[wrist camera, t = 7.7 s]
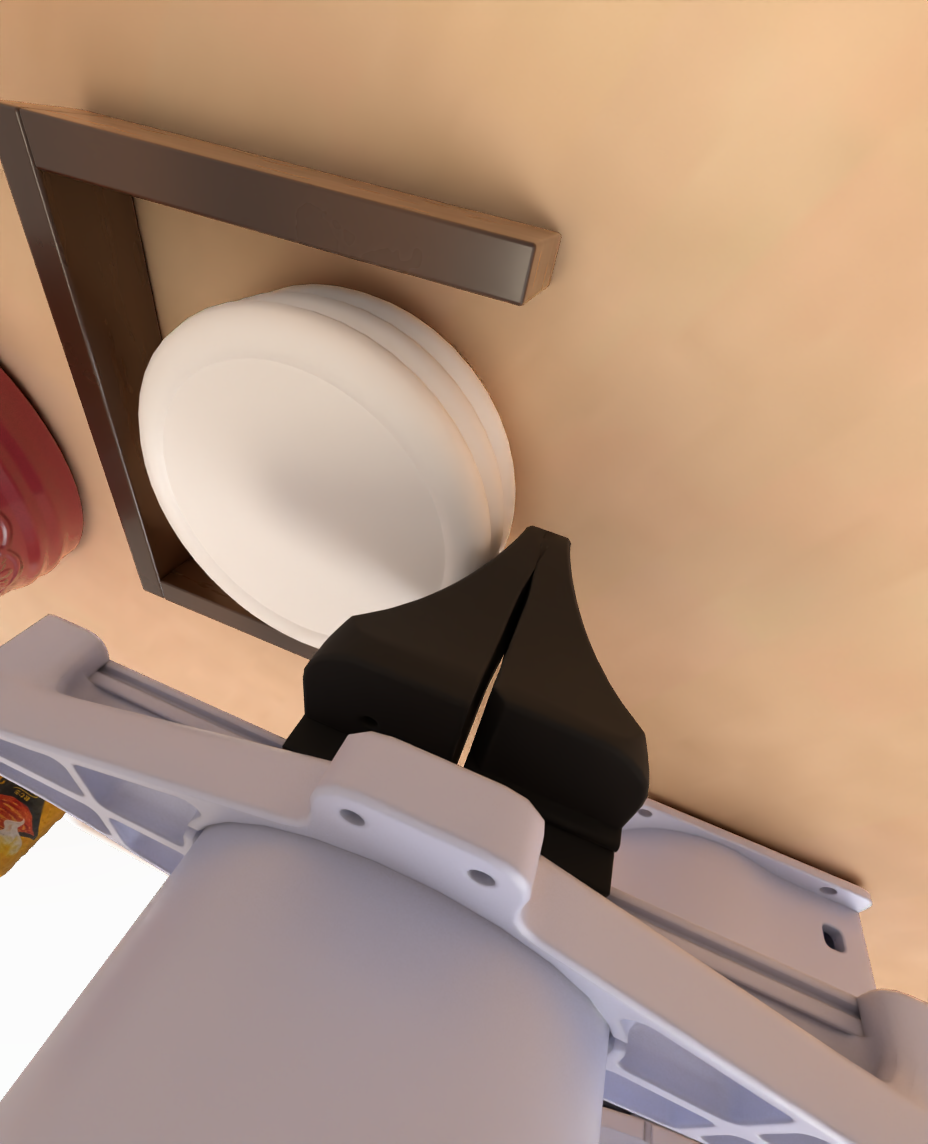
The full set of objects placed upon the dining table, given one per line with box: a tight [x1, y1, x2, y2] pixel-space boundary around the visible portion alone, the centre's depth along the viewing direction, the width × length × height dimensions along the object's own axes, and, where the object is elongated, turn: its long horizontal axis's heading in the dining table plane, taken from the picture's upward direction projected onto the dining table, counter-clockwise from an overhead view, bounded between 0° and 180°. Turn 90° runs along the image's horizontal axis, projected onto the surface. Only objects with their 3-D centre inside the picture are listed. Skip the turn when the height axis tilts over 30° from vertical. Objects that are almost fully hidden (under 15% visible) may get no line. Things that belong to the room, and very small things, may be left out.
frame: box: [0, 100, 562, 660], centre depth 15 cm, size 12×14×2 cm
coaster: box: [138, 284, 516, 649], centre depth 14 cm, size 10×10×4 cm
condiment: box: [0, 776, 66, 877], centre depth 39 cm, size 7×8×12 cm
